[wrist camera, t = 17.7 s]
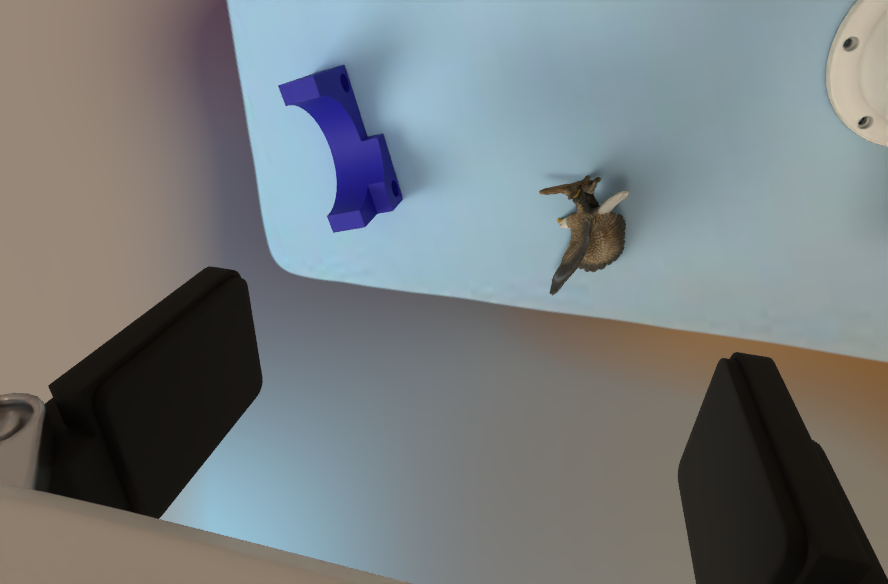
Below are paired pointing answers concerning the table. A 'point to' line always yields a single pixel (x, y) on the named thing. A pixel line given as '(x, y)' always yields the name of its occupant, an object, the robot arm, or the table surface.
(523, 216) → the table surface
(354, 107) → the cable clip
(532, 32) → the table surface
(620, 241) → the eagle figurine
